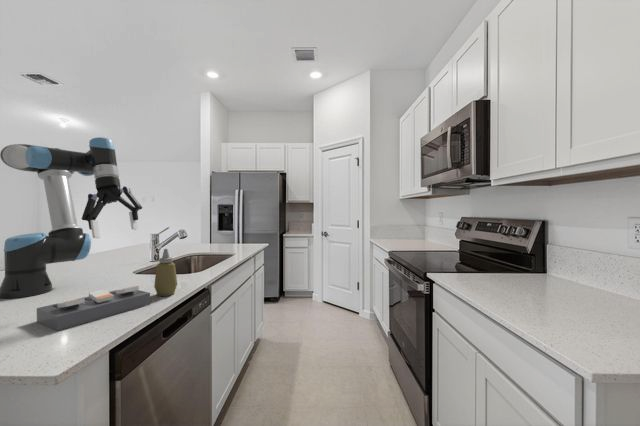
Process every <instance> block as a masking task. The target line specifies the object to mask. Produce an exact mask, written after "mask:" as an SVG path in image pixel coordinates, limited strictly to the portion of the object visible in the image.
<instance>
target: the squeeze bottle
mask: <svg viewBox="0 0 640 426" xmlns="http://www.w3.org/2000/svg"><path fill="white" fill-rule="evenodd" d="M162 253H163V254H162V256H161V257H160V258H158V261H159V263H158V264H157V265H156V267H155V275H154V276H155V278H154V290H155V292H156V294H157V296H158V297H168V296H171V295H174V294H175V293H176V289H177V286H178V279H177V278H178V276H177V271H176V270H177V269H176V264H175V263H174V262H173V257H172V256H170V254H169V249H168V248H164V249H163V252H162Z"/></svg>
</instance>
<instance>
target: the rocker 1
mask: <svg viewBox="0 0 640 426" xmlns="http://www.w3.org/2000/svg"><path fill="white" fill-rule="evenodd" d="M80 298H81V299H80ZM80 298H75V299H72V300H68V301H67V300H66V301H62V302H58V303H56V304H57V306H58V308H59V307H68V306H72V305H76V304H80V303H84V302H85V300H84V299H83V298H84V297H80Z"/></svg>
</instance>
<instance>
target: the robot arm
mask: <svg viewBox="0 0 640 426" xmlns="http://www.w3.org/2000/svg"><path fill="white" fill-rule="evenodd" d="M88 143H89V144H88V145H89V150H88V151H87V152H81V151H73V150H66V149H62V148H57V147H47V146H40V145H33V144H25V143H18V144H17V143H15V144H9V145H6V146H5V147H3V148H2V149H1V151H0V159H1V161H2V163H4V164H5V165H6V166H8V167H9V168H12V169H15V170H18V171H23V172H32V173H37V176H38V178H39V179H40V180H42V181H43V184H44V191H45V196H46V202H47V207H48V213H49V219H50V224H51V230H50V231H48V233H47V234H46V233H45V232H34V233H26V234H19V235H14V236H11V237H8V238H6V239H5V241H4V245H3V246H4V249H3V252H4V278H3V280H2V282H1V284H0V298H1V299H16V298H18V299H19V298H24V297H25V298H26V297H31V296H32V297H33V296H36V295H37V296H38V295H41V294H46V293H48V292H50V291H52V290H53V283H52V281H51V278H50V277H49V275H48V272H47V265H48V264H57V263H64V262H65V263H66V262H75V261H80V260H84V259H86V257H88V256H89V254H90V250H91V247H92V238H93V239H100V238H101V234H100V229H99V221H98V220H96V219H97V218H98V216H99V215H100V213H101V211H102V209H103V208H104V207H105V206H106V205H107V204H108V205H109V204H112V203H117V202H119V203H120V204H122V205H123V207H126V208H127V209H128V210H129V211H128V215H129V221H130V226H131V230H134V231H135V230H136V231H137V230H138V222H137V221H138V220H139V213H138V211H139V210H142V209H143V206H142V205H141V203H140V202H139V201H138V200H137V199H136V197H135V196H134V194H133V193H132V191H131V187H130V188H129V187H127V186H125V185H124V186H123V187H122V186H121V181H120V175H119V169H118V163H117V155H116V149H115V145H114V142H113V140H112V139H110V138H107V137H103V136H102V137H100V136H99V137H92V138H91V139H89V142H88ZM74 173H78V174H79V175H82V176H84V177H90V176H94V183H95V184H94V185H95V189H96V193H94V194H92V193H88V194H87V202H86V205H85V208H84V210H83V213H82V215H81V220H82V221H87V223H88V229H89V230H91V234H92V238H91V235H90V234H89V233H85V232H84V231H83V228H82V227H80V226H79V225H78V223H77V217H76V212H75V208H74V207H75V206H74V200H73V196H72V191H71V185H70V180H69V179H70V178H71V177H72V175H73V174H74ZM122 194H124V195H125V196H126V197H127V199H128V200H129V201H127V200H126V199H124V198H123V197H122ZM130 202H131V203H130Z"/></svg>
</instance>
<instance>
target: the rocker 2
mask: <svg viewBox="0 0 640 426" xmlns="http://www.w3.org/2000/svg"><path fill="white" fill-rule="evenodd" d="M135 290H140V288H139V285H134V286H130V287H125V288H120V289H116V294H119V293H126V292H130V291H135Z"/></svg>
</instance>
